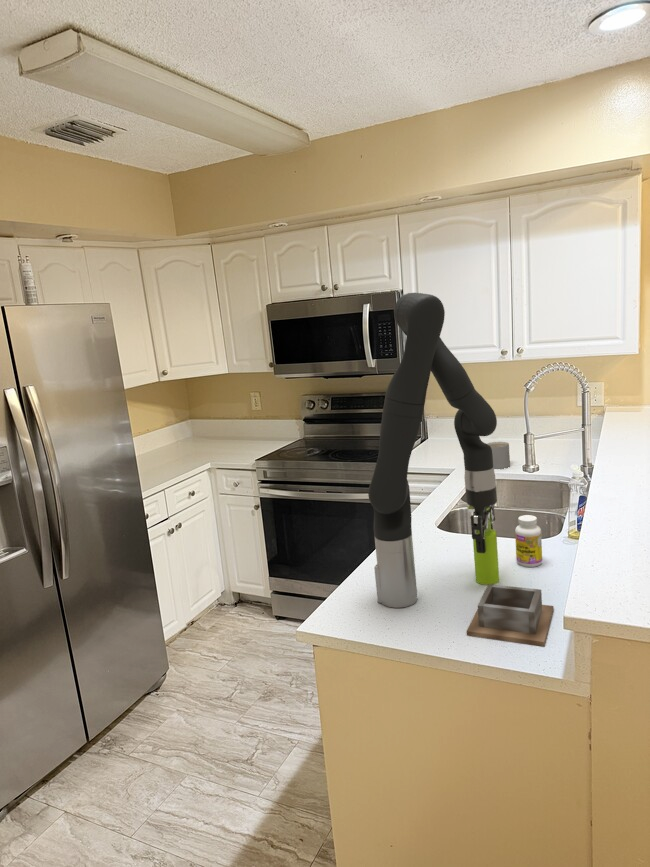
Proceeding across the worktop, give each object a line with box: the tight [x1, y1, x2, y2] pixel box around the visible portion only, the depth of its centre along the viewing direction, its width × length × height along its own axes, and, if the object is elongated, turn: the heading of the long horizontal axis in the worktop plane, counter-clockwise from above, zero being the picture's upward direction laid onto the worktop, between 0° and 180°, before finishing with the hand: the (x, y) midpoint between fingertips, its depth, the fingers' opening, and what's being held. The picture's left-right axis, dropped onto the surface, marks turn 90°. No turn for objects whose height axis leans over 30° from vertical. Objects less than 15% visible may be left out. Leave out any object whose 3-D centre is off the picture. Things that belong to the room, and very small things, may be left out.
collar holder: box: [466, 584, 555, 647], centre depth 134 cm, size 16×16×6 cm
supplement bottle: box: [514, 514, 543, 568], centre depth 162 cm, size 7×7×13 cm
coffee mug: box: [486, 441, 511, 470], centre depth 262 cm, size 13×10×10 cm
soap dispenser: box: [466, 505, 500, 586], centre depth 154 cm, size 6×7×20 cm
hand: (485, 546), depth 154 cm, fingers open, 8 cm apart
